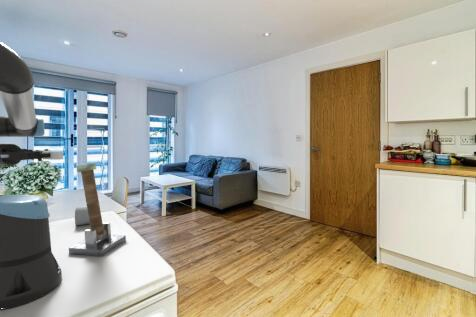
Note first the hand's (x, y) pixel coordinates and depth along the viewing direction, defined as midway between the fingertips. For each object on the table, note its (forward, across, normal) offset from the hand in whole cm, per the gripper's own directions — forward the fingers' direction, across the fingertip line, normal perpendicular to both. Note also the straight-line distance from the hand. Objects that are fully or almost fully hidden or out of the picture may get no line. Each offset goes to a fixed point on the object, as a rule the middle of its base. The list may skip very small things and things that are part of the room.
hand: (60, 155), depth 83 cm
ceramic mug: (-11, -21, -32) cm, 40 cm away
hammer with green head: (+12, 0, -29) cm, 31 cm away
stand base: (+12, 0, -31) cm, 34 cm away
